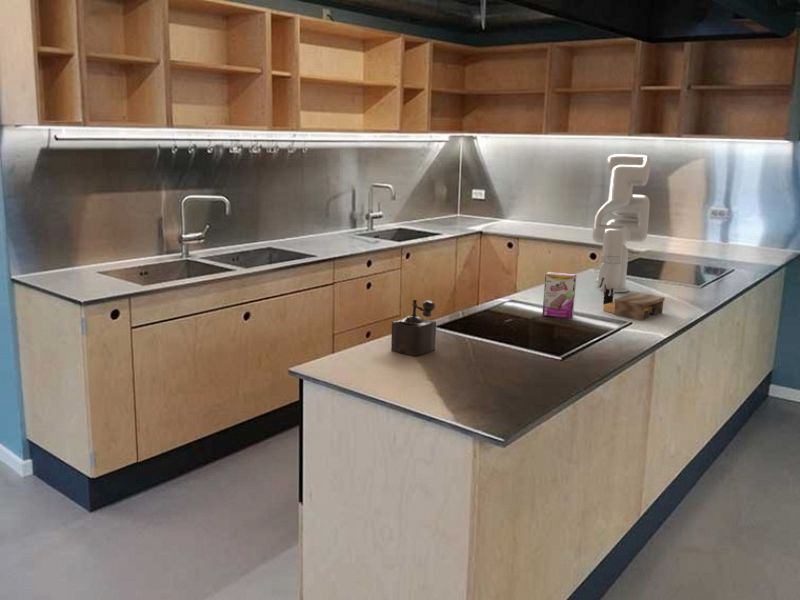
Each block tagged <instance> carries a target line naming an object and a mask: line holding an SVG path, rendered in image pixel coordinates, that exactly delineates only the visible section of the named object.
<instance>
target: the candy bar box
mask: <svg viewBox="0 0 800 600" xmlns="http://www.w3.org/2000/svg"><path fill="white" fill-rule="evenodd" d="M544 277H545V278H544V288H543V300H542V301H543V303H542V317H551V318H558V319H559V318H560V319H569V320H570V319H571V320H572V318H573V317H574V310H575V299H576V286H577V285H576V284H577V273H576V274H574V273H564V272H553V271H547V272H546V273H545V276H544Z"/></svg>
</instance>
